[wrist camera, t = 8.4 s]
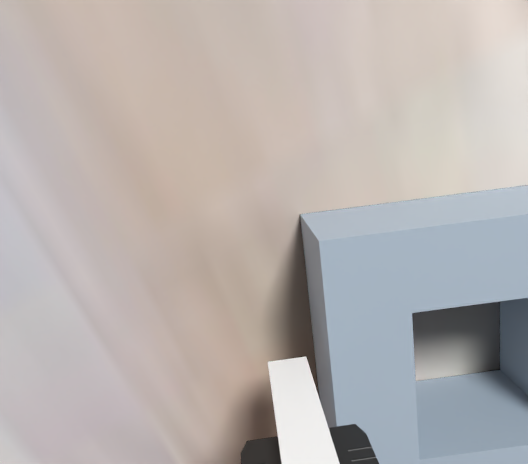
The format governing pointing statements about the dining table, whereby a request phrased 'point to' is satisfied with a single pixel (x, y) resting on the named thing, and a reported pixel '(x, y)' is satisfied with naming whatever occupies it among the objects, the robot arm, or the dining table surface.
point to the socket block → (401, 325)
